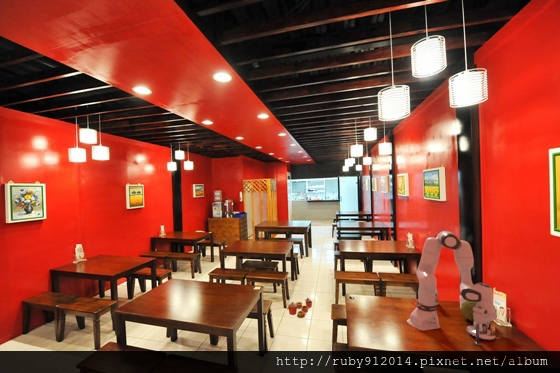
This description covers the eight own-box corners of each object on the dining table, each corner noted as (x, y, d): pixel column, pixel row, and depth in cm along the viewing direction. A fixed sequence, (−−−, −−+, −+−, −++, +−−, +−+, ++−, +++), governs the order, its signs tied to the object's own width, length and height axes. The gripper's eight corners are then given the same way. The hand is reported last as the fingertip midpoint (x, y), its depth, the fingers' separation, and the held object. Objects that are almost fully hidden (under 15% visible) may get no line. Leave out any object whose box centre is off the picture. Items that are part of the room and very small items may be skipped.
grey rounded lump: (484, 334, 165) (483, 327, 165) (474, 330, 170) (473, 323, 170) (489, 332, 167) (489, 325, 167) (479, 327, 172) (479, 321, 173)
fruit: (484, 318, 189) (484, 298, 189) (491, 327, 176) (490, 306, 176) (459, 314, 196) (458, 295, 196) (463, 323, 183) (463, 302, 183)
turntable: (486, 342, 158) (485, 331, 158) (461, 330, 172) (461, 319, 172) (500, 336, 164) (500, 325, 164) (475, 325, 178) (475, 315, 178)
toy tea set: (303, 320, 194) (302, 308, 194) (285, 315, 202) (285, 304, 202) (315, 306, 217) (314, 295, 217) (298, 302, 225) (298, 291, 225)
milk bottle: (425, 302, 217) (424, 279, 217) (433, 301, 218) (433, 278, 218) (431, 306, 210) (430, 282, 210) (440, 305, 210) (439, 282, 210)
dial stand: (479, 346, 156) (478, 325, 156) (471, 342, 160) (471, 322, 160) (483, 345, 158) (482, 324, 158) (475, 341, 162) (475, 321, 162)
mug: (476, 308, 204) (475, 296, 204) (480, 313, 196) (479, 300, 196) (458, 306, 208) (458, 294, 208) (462, 311, 200) (461, 298, 200)
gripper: (489, 302, 178) (489, 321, 178) (471, 308, 170) (471, 328, 170) (499, 306, 172) (500, 326, 172) (481, 312, 164) (482, 333, 164)
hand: (486, 327), depth 171 cm, fingers closed
